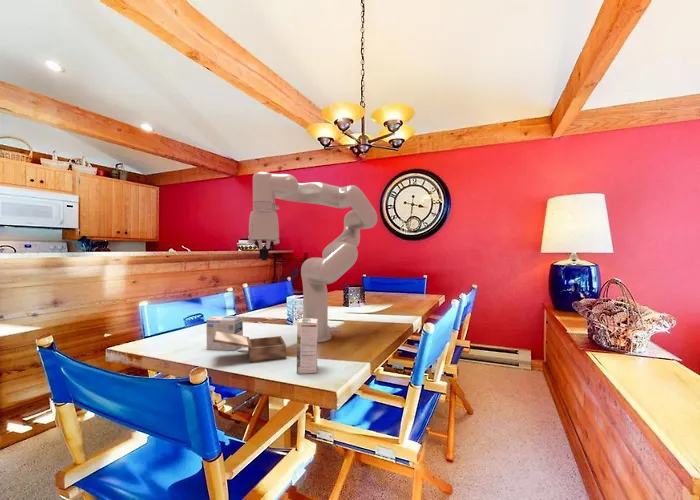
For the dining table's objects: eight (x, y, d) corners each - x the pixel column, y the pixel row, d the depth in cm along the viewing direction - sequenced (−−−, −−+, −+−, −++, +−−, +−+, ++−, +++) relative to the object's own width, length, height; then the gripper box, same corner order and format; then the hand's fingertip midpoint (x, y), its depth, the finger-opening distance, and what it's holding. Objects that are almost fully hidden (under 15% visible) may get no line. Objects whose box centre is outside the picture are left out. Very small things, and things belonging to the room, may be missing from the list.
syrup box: (298, 366, 96) (298, 318, 96) (317, 366, 97) (317, 317, 97) (296, 374, 91) (296, 322, 90) (317, 373, 91) (317, 322, 91)
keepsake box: (281, 348, 113) (281, 336, 113) (285, 358, 103) (285, 344, 103) (248, 352, 110) (248, 339, 110) (249, 363, 99) (249, 348, 99)
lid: (215, 330, 106) (214, 332, 106) (213, 339, 96) (212, 341, 96) (249, 336, 109) (248, 338, 109) (251, 345, 99) (250, 347, 99)
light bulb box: (243, 345, 118) (243, 315, 118) (235, 351, 111) (235, 319, 111) (215, 344, 119) (215, 315, 119) (205, 350, 112) (205, 319, 112)
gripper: (283, 210, 120) (283, 259, 120) (241, 208, 114) (241, 260, 115) (287, 208, 112) (287, 260, 113) (241, 206, 107) (242, 261, 107)
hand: (264, 260), depth 114 cm, fingers closed
